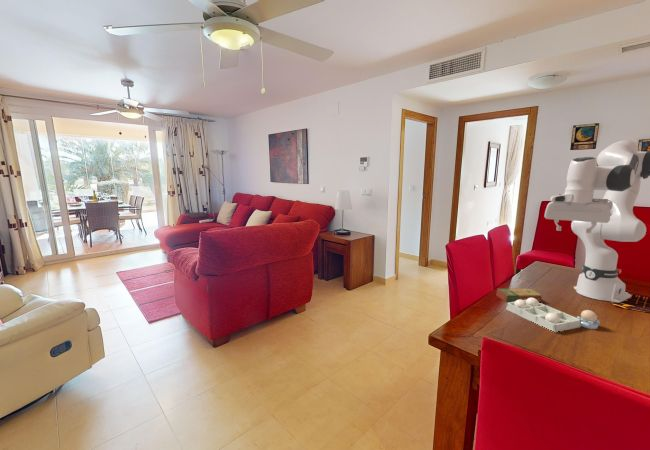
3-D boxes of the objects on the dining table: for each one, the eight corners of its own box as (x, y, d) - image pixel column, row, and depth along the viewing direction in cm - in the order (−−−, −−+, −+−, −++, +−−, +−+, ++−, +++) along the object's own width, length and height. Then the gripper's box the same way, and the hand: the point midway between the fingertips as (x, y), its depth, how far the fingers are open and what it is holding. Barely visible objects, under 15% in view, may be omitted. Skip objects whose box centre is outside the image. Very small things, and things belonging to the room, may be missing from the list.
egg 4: (585, 318, 115) (586, 307, 115) (598, 323, 111) (600, 312, 110) (577, 319, 114) (578, 308, 113) (590, 325, 110) (592, 314, 109)
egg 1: (519, 307, 127) (520, 297, 126) (529, 311, 123) (530, 301, 122) (511, 308, 126) (512, 298, 125) (521, 313, 121) (522, 302, 121)
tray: (529, 305, 131) (530, 298, 130) (580, 327, 111) (581, 319, 111) (506, 309, 127) (506, 302, 126) (554, 332, 107) (555, 325, 107)
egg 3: (550, 321, 115) (551, 310, 114) (562, 326, 110) (563, 315, 110) (541, 322, 113) (542, 311, 113) (553, 328, 109) (555, 317, 108)
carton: (541, 303, 133) (542, 294, 132) (506, 303, 133) (507, 294, 133) (529, 296, 141) (530, 287, 141) (495, 296, 142) (496, 287, 141)
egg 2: (530, 305, 129) (531, 295, 128) (540, 309, 125) (542, 299, 124) (522, 306, 128) (523, 296, 127) (532, 310, 123) (534, 300, 123)
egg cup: (583, 320, 116) (584, 314, 116) (601, 327, 111) (602, 321, 110) (573, 322, 115) (574, 316, 114) (590, 330, 109) (591, 323, 109)
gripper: (611, 198, 113) (606, 233, 115) (546, 196, 125) (542, 228, 127) (615, 199, 108) (609, 235, 110) (547, 197, 120) (543, 230, 122)
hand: (573, 231), depth 119 cm, fingers open, 8 cm apart
